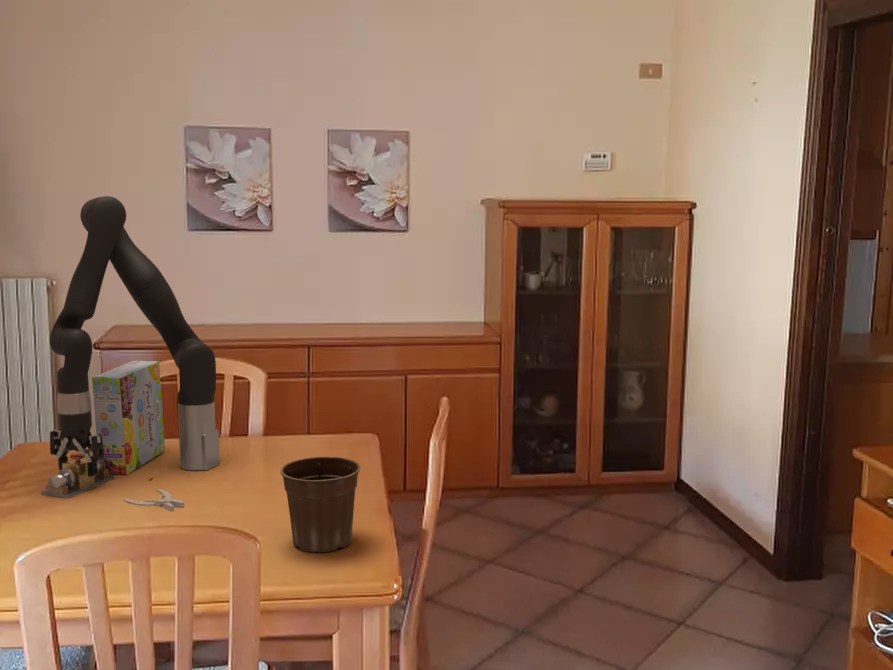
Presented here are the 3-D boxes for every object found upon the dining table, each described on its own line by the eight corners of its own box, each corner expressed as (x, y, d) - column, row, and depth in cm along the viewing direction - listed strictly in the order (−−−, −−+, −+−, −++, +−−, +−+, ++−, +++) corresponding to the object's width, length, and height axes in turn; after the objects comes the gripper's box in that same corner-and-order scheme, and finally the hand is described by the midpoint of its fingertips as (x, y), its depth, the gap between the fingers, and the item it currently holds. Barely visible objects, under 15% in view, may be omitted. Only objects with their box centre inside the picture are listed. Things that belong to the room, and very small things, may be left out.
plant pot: (278, 558, 183) (277, 480, 180) (284, 529, 199) (283, 456, 196) (360, 556, 184) (360, 478, 182) (360, 527, 200) (360, 455, 198)
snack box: (136, 450, 257) (132, 359, 252) (166, 452, 255) (162, 360, 251) (95, 473, 235) (90, 375, 231) (127, 475, 234) (122, 376, 230)
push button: (94, 481, 227) (93, 453, 226) (79, 487, 222) (78, 459, 221) (78, 479, 228) (76, 451, 227) (63, 485, 224) (61, 456, 223)
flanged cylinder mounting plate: (88, 475, 234) (87, 453, 233) (114, 478, 231) (113, 456, 231) (41, 494, 219) (39, 471, 219) (67, 498, 217) (66, 475, 216)
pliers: (159, 485, 223) (196, 498, 214) (159, 491, 223) (196, 505, 214) (122, 495, 216) (159, 509, 206) (122, 501, 216) (159, 516, 206)
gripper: (109, 408, 223) (112, 473, 226) (62, 403, 228) (66, 466, 231) (87, 415, 216) (90, 482, 219) (39, 410, 221) (43, 475, 224)
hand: (78, 474), depth 225 cm, fingers open, 8 cm apart
